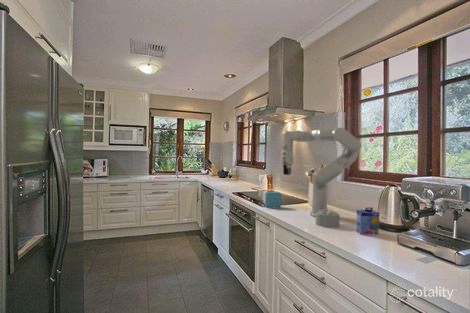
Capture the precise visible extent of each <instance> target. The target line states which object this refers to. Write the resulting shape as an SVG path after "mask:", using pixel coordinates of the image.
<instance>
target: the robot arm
mask: <svg viewBox="0 0 470 313" xmlns="http://www.w3.org/2000/svg"><path fill="white" fill-rule="evenodd" d="M281 139H282V143H281V144H282V147H281V148H282V152H281V165H282V170H283V175H284V174H288V168H287V167H288V165H290V175H291V174H292V166H293V164H294V163H295V162H294V159H295V158H294V142H298V143H302V142H304V143H305V142H307V143H309V142H315V143H318V142H319V143H321V142H338V143H340V145H342V146H343V147H344V149H345V151H344V152H343V153H342V154H341V155H339V156H338V157H337V158H335V159H333V160H331V161H329V162H328V163H327V164H326V165H325V166H323V167H322V168H320V169H317V170H316V171H314V172H313V174H312V210H311V212H309V215H310V216H312V217H315V218H316V212H318V211H320V210H323V209H326V210H327V211H329V209H328V183H329V182H331V181H332V180H334V179H335V178H337V177H339V176H340V175H341V174H342V173H343V170H345V169H346V168H347V167H349V166H351V165H352V164H353V163H354V162H355V161H356V160H357V159H358V156H359V151H360V150H361V148H362V143H361V141H360V140H359V139H358V138H357V137H355V136H354V135H353V134H352V133H351V132H349V131H348V130H346V129H345V128H343V127H337V128H320V129H319V128H318V129H315V130H310V131H303V130H292V131H290V130H284V131H283V132H282V138H281Z"/></svg>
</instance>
